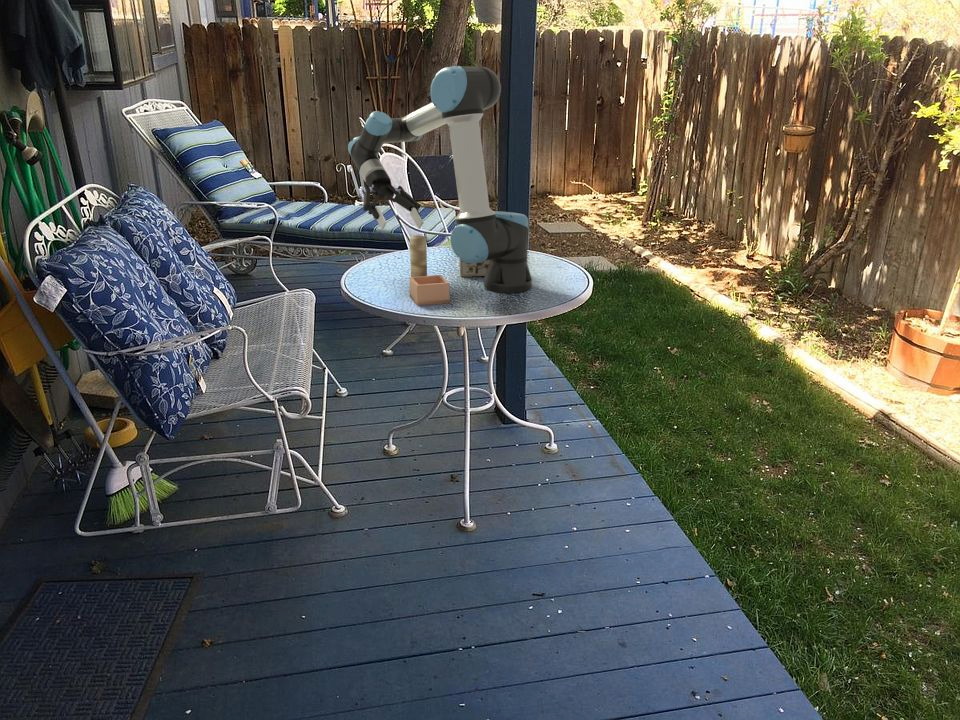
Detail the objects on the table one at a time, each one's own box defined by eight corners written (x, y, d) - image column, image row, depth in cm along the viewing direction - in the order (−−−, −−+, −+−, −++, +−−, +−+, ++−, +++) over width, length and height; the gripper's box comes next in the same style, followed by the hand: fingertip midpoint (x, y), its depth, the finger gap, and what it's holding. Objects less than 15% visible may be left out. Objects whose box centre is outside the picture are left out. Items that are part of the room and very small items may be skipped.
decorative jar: (495, 268, 255) (495, 216, 248) (495, 277, 244) (495, 222, 238) (460, 268, 255) (460, 215, 249) (458, 277, 244) (458, 222, 238)
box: (441, 294, 226) (440, 274, 223) (449, 303, 217) (449, 283, 215) (409, 296, 223) (409, 277, 221) (417, 305, 214) (416, 285, 212)
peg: (425, 285, 234) (424, 235, 229) (429, 289, 230) (428, 238, 224) (409, 286, 233) (408, 236, 227) (413, 291, 229) (411, 239, 223)
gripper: (403, 187, 249) (430, 233, 240) (337, 184, 233) (363, 234, 225) (412, 170, 244) (440, 217, 235) (345, 166, 228) (372, 216, 220)
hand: (403, 225), depth 230 cm, fingers open, 13 cm apart
